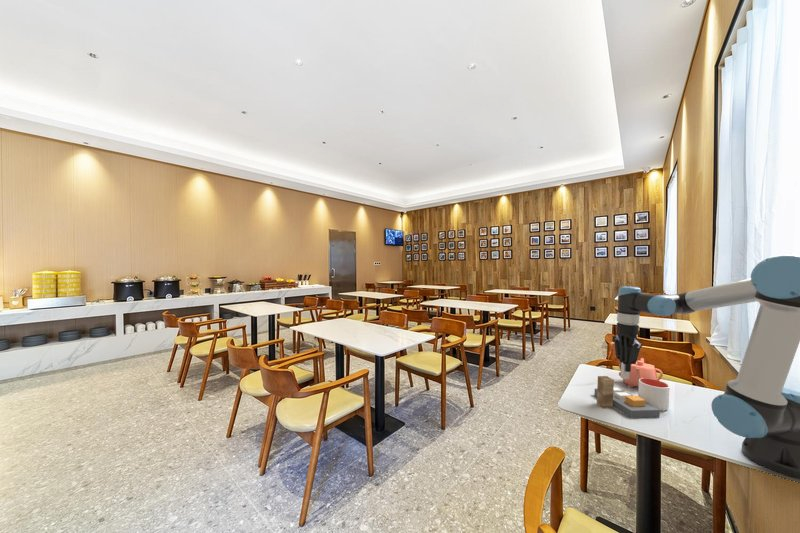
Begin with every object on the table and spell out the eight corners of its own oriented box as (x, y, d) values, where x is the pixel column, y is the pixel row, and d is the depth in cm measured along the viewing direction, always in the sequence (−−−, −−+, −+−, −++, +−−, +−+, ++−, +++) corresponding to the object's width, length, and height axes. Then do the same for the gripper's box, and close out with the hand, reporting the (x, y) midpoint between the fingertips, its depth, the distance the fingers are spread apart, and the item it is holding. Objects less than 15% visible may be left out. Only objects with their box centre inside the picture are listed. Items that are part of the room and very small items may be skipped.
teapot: (635, 393, 141) (637, 366, 141) (612, 379, 158) (613, 355, 157) (669, 394, 141) (670, 367, 140) (641, 380, 157) (642, 355, 157)
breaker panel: (659, 417, 120) (660, 406, 120) (631, 418, 119) (631, 406, 119) (619, 394, 140) (619, 384, 140) (594, 395, 139) (594, 385, 139)
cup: (674, 413, 123) (675, 389, 123) (646, 410, 125) (647, 386, 125) (658, 401, 133) (659, 379, 133) (633, 399, 135) (634, 377, 135)
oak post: (612, 408, 127) (613, 379, 126) (603, 408, 126) (604, 379, 126) (605, 403, 131) (606, 376, 130) (596, 403, 130) (597, 376, 130)
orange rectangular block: (644, 408, 122) (645, 400, 122) (633, 408, 122) (633, 400, 122) (636, 403, 126) (636, 395, 126) (625, 403, 126) (625, 395, 126)
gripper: (649, 327, 122) (646, 384, 123) (623, 319, 135) (620, 371, 136) (632, 327, 121) (629, 384, 122) (607, 319, 134) (605, 372, 135)
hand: (624, 378), depth 129 cm, fingers closed
